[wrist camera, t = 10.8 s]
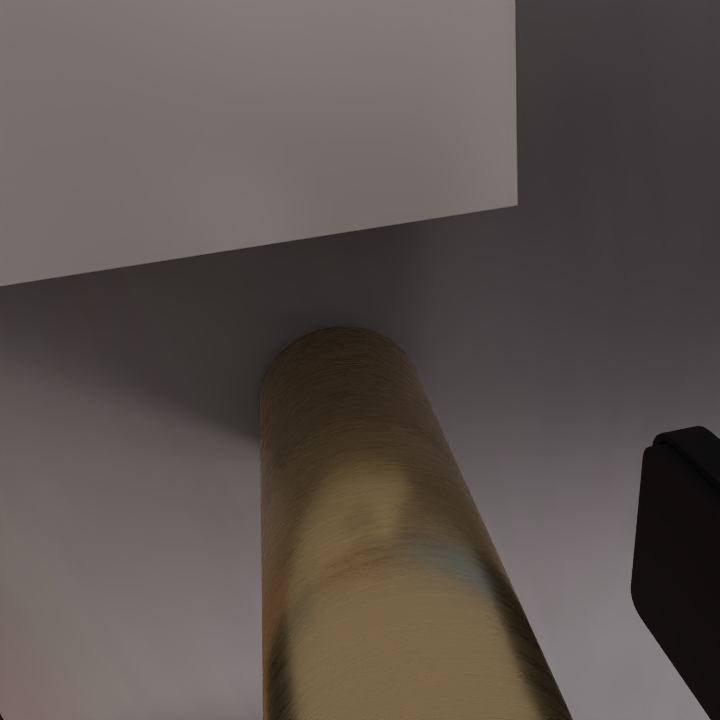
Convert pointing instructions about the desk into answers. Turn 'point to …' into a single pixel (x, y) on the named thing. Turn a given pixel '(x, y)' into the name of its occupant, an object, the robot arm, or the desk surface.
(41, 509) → the desk surface
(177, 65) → the board
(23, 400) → the desk surface
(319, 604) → the pin
